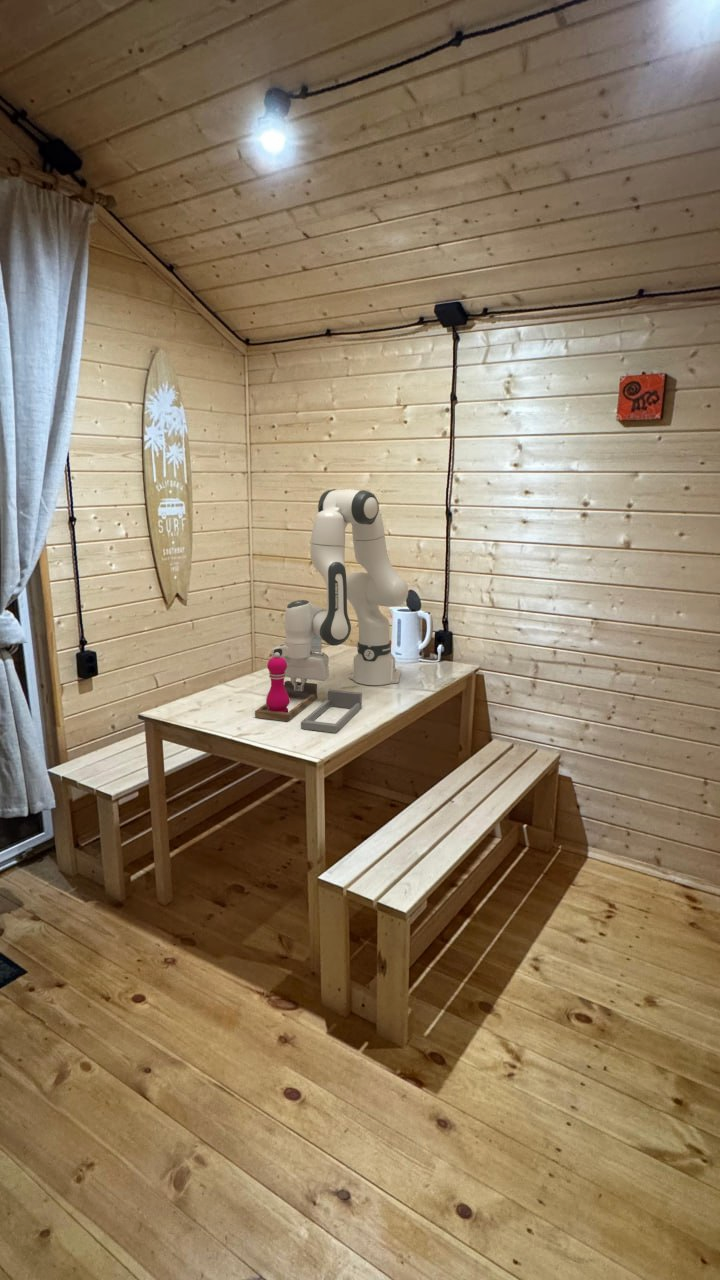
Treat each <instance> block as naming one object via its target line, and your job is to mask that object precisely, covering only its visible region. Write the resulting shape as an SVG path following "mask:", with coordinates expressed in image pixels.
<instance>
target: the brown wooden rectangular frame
mask: <svg viewBox="0 0 720 1280" xmlns="http://www.w3.org/2000/svg"><path fill="white" fill-rule="evenodd" d="M296 682H297V684H298V685H301V684H302V682H301V681H296ZM284 686H285V689H286V691H287V693H288V696H289V698H296V699H303V700H302V701H301V702H299V703H298V704H297V705H296V706H294V707H293V708H292V709H291V710H288V713H286V712H277V711H269V710H268V709H269V707H268V706H267V704H266V703H265V704H263V705H262V706H260V707H259V708H258V709H255V711H254V718H256V719H265V720H274V721H283V722H290V720H292V719H293V718H294V717H296V716H297V715H298V714H300V713H301V711H303V710H304V709H306V708H307V707H308V706H310V704H312V703H313V702H314V701H315V700H317V699H318V683H315V682H306V683H305V685H304V691H294V686H293V684H292V682H291V680H286V681H285V680H284Z"/></svg>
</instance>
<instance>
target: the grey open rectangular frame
mask: <svg viewBox="0 0 720 1280" xmlns="http://www.w3.org/2000/svg"><path fill="white" fill-rule="evenodd" d="M326 695H327V700H325V701H324V702H323V703H322V704H321V705H320V706H318V707H317V708H315V710H313V711H312V712H311V713H309V715H307V716H306V717H304V719H302V721H300V729H303V730H308V731H309V730H311V731H317V732H326V733H334V734H337V733H338V732H339V731H340V730H341V729H342V728H343V726H345V724H347V723H348V722H349V721H350V720H351V719H352V718H353V717H354V716H355V715H356V714H357V713H358V712H359V711H360V710H361V709H362V707H363V692H359V691H353V690H352V691H351V690H342V689H332V688H329V689H328V690H327V694H326ZM330 707H335V708H342V709H343V708H345V709H349V710H348V711H347V712H345V713H344V715H342V717H341V718H340V719H338V720H337V721H336V723H335V722H334V723H333V722H324V721H318V720H317V721H316V719H317V718H318V717H320V716H321V715H322V714H323V713H324V712H325V711H327V710H328V709H329V708H330Z"/></svg>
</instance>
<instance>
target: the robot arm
mask: <svg viewBox="0 0 720 1280" xmlns="http://www.w3.org/2000/svg"><path fill="white" fill-rule="evenodd" d="M319 497H320V498H319V501H318V505H317V506H318V507H317V511H318V512H317V513H316V515H315V517H314V521H313V526H312V530H311V536H310V537H311V539H310V559H311V564H312V565H313V568H315V570H316V571H317V572H318V573H319V575H321V577H322V578H323V581H324V582H325V585H326V605H327V606H326V608H322V607H320V606H317V605H315V604H314V603H311V602H310V601H309V600H307V599H300V600H299V599H298V600H295V601H294V600H293V601H291V602H290V603H288V605H287V606H286V607H285V614H284V631H285V640H284V643H283V644H279V645H276V646H274V647H272V648H271V649H270V655H271V656H270V658H269V660H270V659H271V658H273V657H274V654H275V653H276V652H278V653H279V654H280V657H281V658H283V659H285V661H286V662H287V669H286V670H285V671H284V672H285V673H286V674H285V676H286V677H285V678H289V679H290V681H291V682H292V684H293V686H294V691H304V685H305V683H307V681H308V680H311V681H312V680H313V681H322V682H324V681H326V680H327V679H328V678H329V676H330V671H329V656H328V654H326V653H325V652H322V651H321V652H314V651H312V639H313V638H314V637H318V638H320V639H321V641H324V642H325V643H326V644H327V645H329V646H339V645H342V644H344V643H345V642H346V641H347V640H348V639H349V637H350V635H351V631H352V624H351V621H350V617H349V613H348V602H349V603H350V605H351V606H352V607H353V610H354V611H355V615H356V618H357V623H358V642H357V645H356V648H357V649H356V650H357V654H356V655H355V656H353V662H352V663H353V664H352V673H351V674H349V675H348V679H351V680H353V681H354V682H355V683H358V684H361V685H367V686H383V685H390V684H397V683H399V682H400V679H401V675H402V670H401V669H400V668H396V658H395V656H394V655H393V654H392V640H390V634H391V633H390V629H391V628H390V627H391V626H390V621H389V618H388V617H386V616H385V615H384V614H383V613H382V612H381V610H380V608H379V606H381V607H387V608H388V607H399V606H402V605H403V604H404V603H405V602H406V601H407V599H408V596H409V586H408V583H407V582H406V580H405V579H403V578H402V577H401V576H400V575H399V574H398V572H397V571H396V570H395V569H394V567H393V565H392V563H391V561H390V558H389V556H388V550H387V544H386V543H387V542H386V534H385V528H384V527H385V526H384V522H383V519H382V514H381V511H380V506H379V505H380V504H379V502H378V499H377V497H376V495H375V494H374V493H372V492H371V491H368V490H361V489H353V488H351V489H350V488H346V489H345V488H344V489H335V488H334V489H328V490H326V491H324V492H322V493H321V496H319ZM349 524H351V532H352V542H353V550H354V551H353V553H354V557H355V561H356V562H357V564H359V565H360V566H361V567H362V568H364V570H365V571H366V572H363V571H362V572H354V573H349V574H347V572H346V564H345V563H346V562H345V559H346V558H345V554H346V553H345V551H346V549H345V548H346V528H347V526H348V525H349ZM268 672H269V673H270V671H269V670H268ZM269 673H268V674H269ZM298 679H300V682H302V684H301V685H298V684H297V682H298V681H297V680H298Z"/></svg>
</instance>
